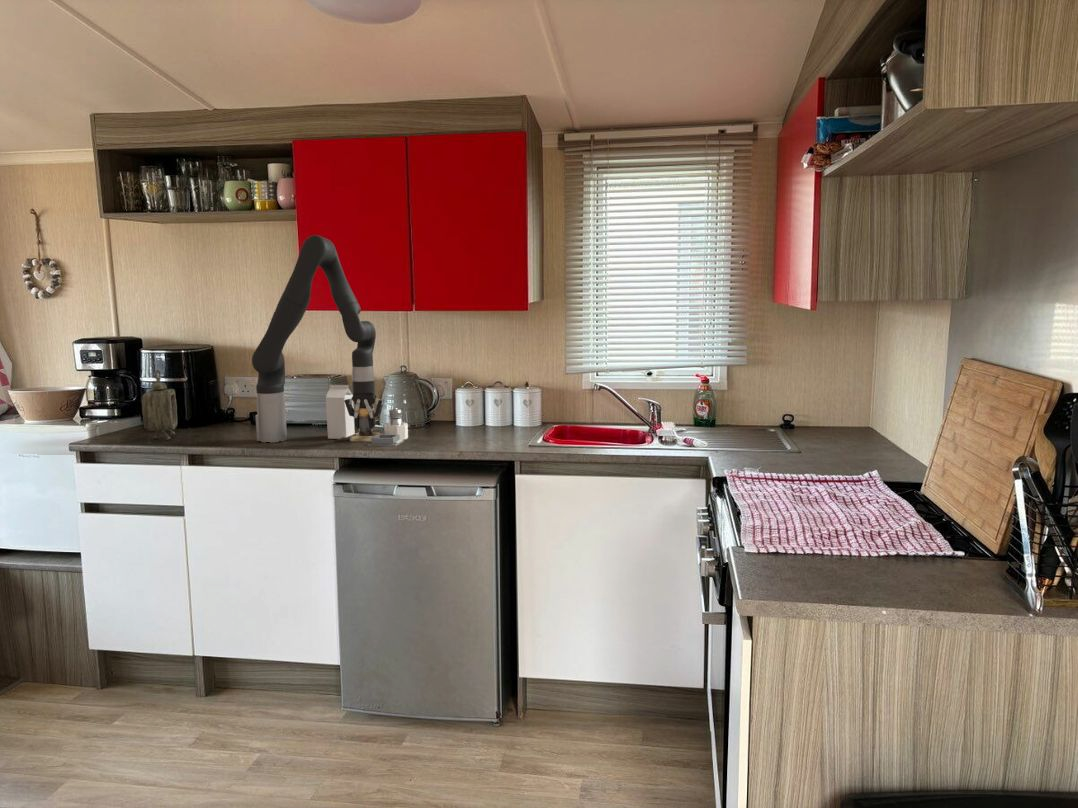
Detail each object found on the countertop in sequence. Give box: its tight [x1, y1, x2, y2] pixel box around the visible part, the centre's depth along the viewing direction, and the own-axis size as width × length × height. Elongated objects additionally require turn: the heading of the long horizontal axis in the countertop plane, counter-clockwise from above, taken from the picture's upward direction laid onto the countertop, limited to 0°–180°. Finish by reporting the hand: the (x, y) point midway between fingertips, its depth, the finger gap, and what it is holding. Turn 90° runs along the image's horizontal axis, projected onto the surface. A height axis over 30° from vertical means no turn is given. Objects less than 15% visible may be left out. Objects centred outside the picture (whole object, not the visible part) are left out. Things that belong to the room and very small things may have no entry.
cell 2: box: [388, 407, 403, 426], centre depth 273 cm, size 4×4×11 cm
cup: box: [383, 421, 409, 441], centre depth 274 cm, size 7×7×6 cm
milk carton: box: [325, 384, 356, 440], centre depth 280 cm, size 7×7×19 cm
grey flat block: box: [366, 433, 405, 447], centre depth 265 cm, size 10×9×3 cm
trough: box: [349, 432, 383, 442], centre depth 272 cm, size 9×7×2 cm
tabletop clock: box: [141, 369, 178, 440], centre depth 282 cm, size 14×9×25 cm, turn 16°
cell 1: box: [358, 408, 373, 436], centre depth 272 cm, size 4×4×11 cm
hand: (365, 428), depth 272 cm, fingers closed on cell 1, 4 cm apart
